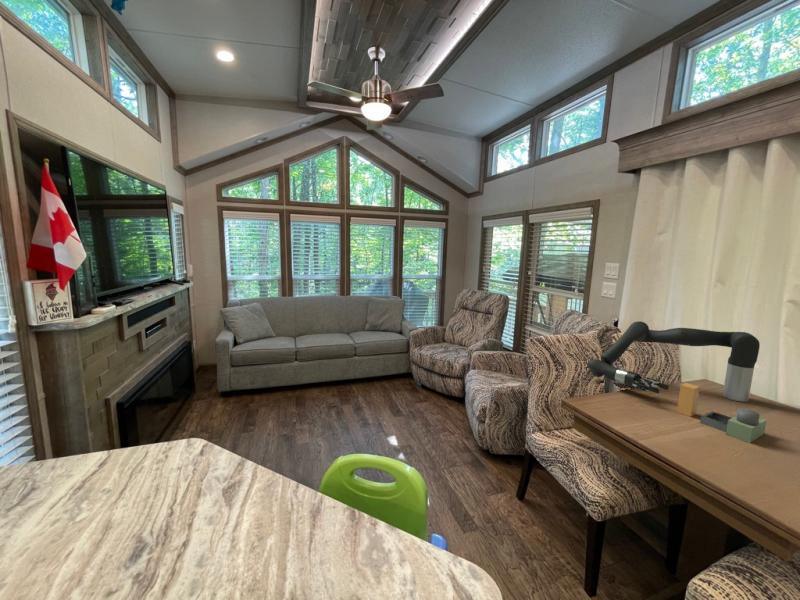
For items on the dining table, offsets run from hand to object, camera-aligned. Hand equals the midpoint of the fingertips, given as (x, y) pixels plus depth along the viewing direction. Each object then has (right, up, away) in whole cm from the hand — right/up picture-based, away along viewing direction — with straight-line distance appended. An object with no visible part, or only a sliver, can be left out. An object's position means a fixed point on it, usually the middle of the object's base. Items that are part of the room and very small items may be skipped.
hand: (663, 389), depth 159 cm
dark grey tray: (+10, -10, -18) cm, 23 cm away
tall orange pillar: (+5, -9, -7) cm, 12 cm away
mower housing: (+13, -11, -24) cm, 30 cm away
